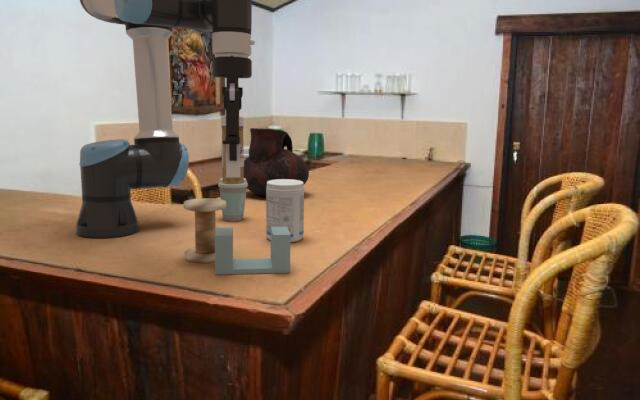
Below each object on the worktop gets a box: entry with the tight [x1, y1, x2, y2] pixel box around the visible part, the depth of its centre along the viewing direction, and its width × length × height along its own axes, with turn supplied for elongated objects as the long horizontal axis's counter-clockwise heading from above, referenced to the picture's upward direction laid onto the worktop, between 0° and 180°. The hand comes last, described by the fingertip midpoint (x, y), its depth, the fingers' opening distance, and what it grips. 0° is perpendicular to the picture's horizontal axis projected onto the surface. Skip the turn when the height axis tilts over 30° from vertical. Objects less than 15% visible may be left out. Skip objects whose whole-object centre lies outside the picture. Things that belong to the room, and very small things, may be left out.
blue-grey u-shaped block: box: [214, 226, 291, 275], centre depth 111 cm, size 15×7×8 cm, turn 99°
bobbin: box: [183, 197, 226, 264], centre depth 117 cm, size 9×9×12 cm
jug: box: [244, 127, 310, 198], centre depth 195 cm, size 25×25×25 cm
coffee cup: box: [217, 177, 248, 222], centre depth 155 cm, size 8×8×12 cm
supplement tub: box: [265, 179, 305, 243], centre depth 135 cm, size 10×10×15 cm
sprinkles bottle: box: [220, 115, 245, 184], centre depth 108 cm, size 5×5×13 cm
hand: (233, 175), depth 108 cm, fingers closed on sprinkles bottle, 4 cm apart
